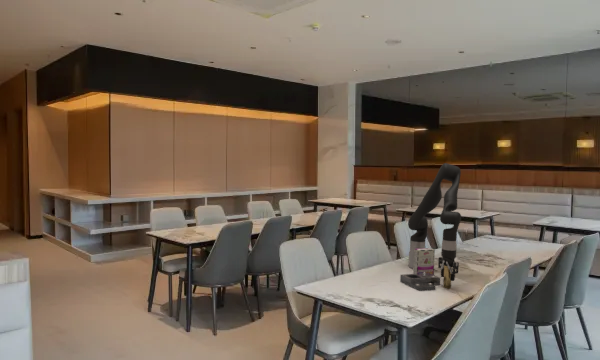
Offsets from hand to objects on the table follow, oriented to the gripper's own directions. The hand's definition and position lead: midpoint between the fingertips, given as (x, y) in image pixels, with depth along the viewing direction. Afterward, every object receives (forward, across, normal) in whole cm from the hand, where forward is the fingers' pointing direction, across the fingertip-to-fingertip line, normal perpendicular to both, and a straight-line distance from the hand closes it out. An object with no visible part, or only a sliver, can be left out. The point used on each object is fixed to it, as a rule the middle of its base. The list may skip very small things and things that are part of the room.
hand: (447, 278), depth 238 cm
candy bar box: (+5, +23, -1) cm, 24 cm away
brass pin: (+5, 0, 0) cm, 5 cm away
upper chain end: (+5, +11, +10) cm, 15 cm away
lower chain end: (+5, +7, +14) cm, 16 cm away
